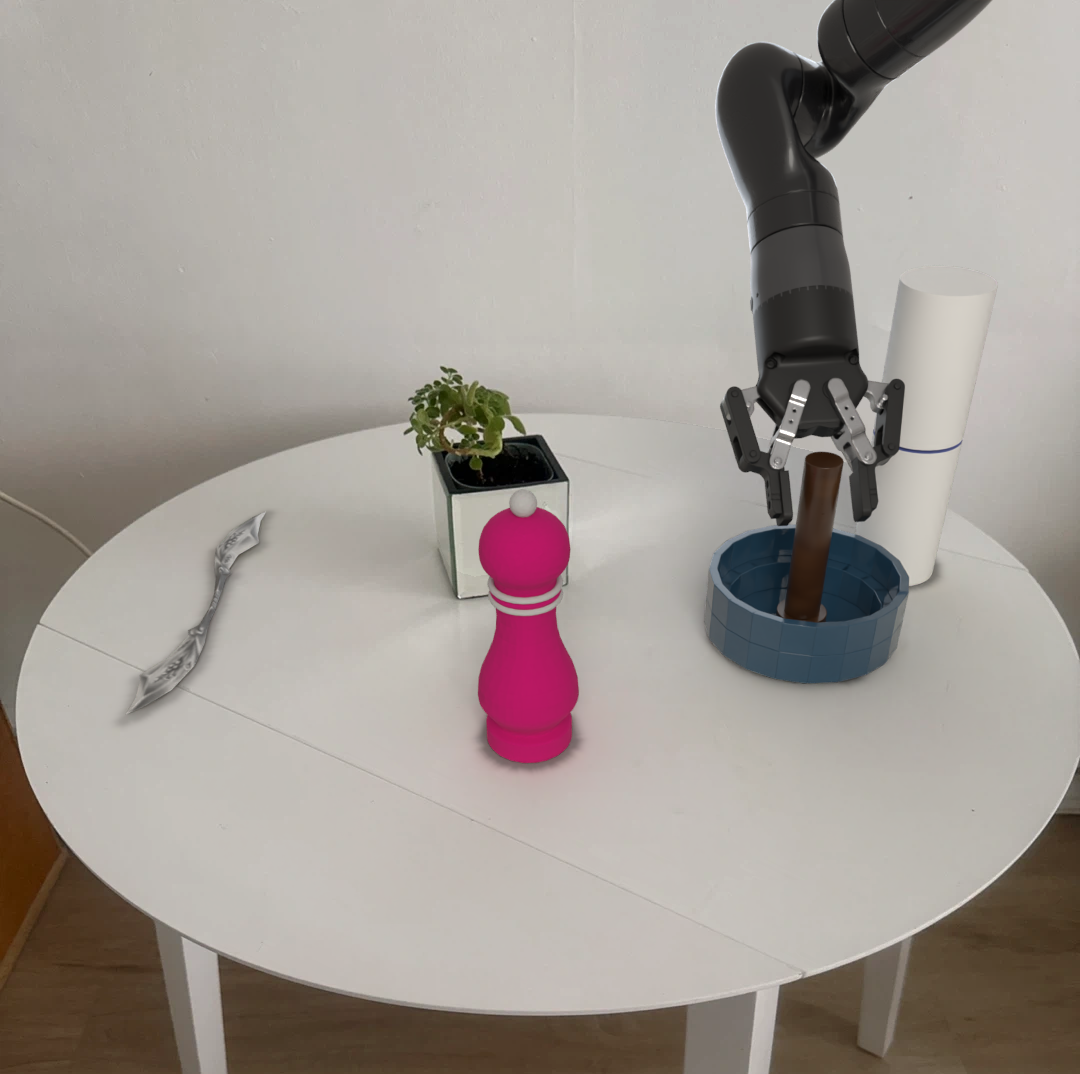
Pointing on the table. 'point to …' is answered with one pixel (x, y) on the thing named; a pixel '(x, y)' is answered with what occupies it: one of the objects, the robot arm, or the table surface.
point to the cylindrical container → (928, 406)
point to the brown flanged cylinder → (812, 538)
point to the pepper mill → (526, 634)
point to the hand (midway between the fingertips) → (824, 520)
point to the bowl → (800, 646)
